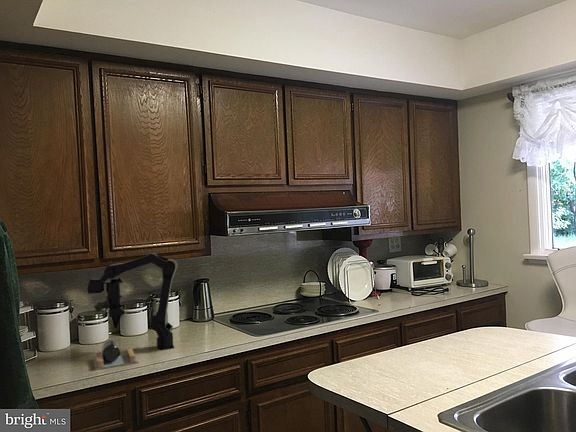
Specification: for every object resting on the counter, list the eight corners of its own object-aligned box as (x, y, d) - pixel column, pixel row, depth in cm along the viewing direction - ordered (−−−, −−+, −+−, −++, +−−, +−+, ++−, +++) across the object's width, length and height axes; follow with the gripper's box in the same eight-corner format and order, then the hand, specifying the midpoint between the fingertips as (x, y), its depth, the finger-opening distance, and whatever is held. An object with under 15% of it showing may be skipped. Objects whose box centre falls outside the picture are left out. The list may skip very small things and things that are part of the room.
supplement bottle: (106, 358, 198) (106, 367, 187) (98, 344, 197) (98, 353, 186) (121, 350, 201) (123, 358, 190) (114, 336, 199) (115, 344, 188)
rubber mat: (133, 354, 202) (133, 353, 202) (138, 363, 190) (138, 361, 190) (93, 360, 195) (93, 359, 195) (95, 370, 183) (95, 368, 183)
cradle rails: (131, 353, 201) (131, 347, 201) (135, 362, 189) (135, 355, 189) (96, 358, 195) (95, 353, 195) (98, 368, 183) (97, 361, 183)
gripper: (92, 292, 213) (93, 326, 214) (95, 298, 197) (97, 335, 197) (118, 289, 218) (119, 322, 219) (123, 295, 202) (125, 331, 202)
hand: (115, 328), depth 209 cm, fingers closed
